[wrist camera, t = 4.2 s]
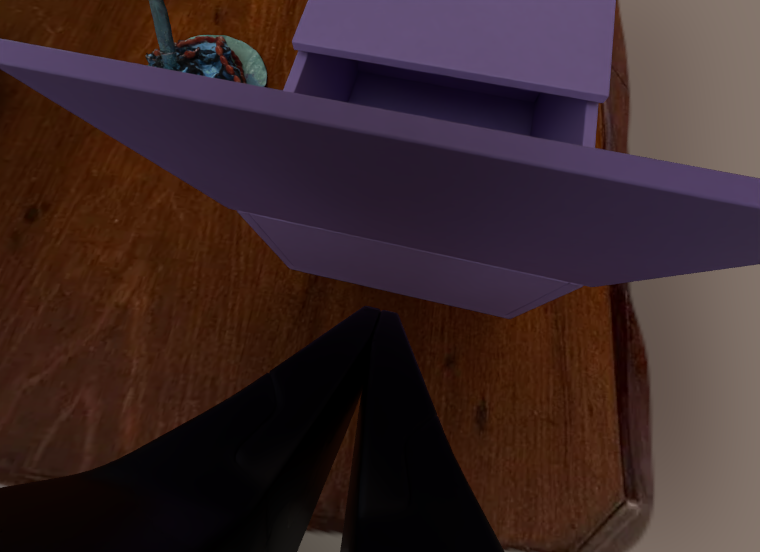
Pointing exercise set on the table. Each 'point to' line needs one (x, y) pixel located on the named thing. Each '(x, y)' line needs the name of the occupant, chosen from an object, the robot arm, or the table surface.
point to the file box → (448, 116)
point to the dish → (205, 53)
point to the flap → (411, 174)
